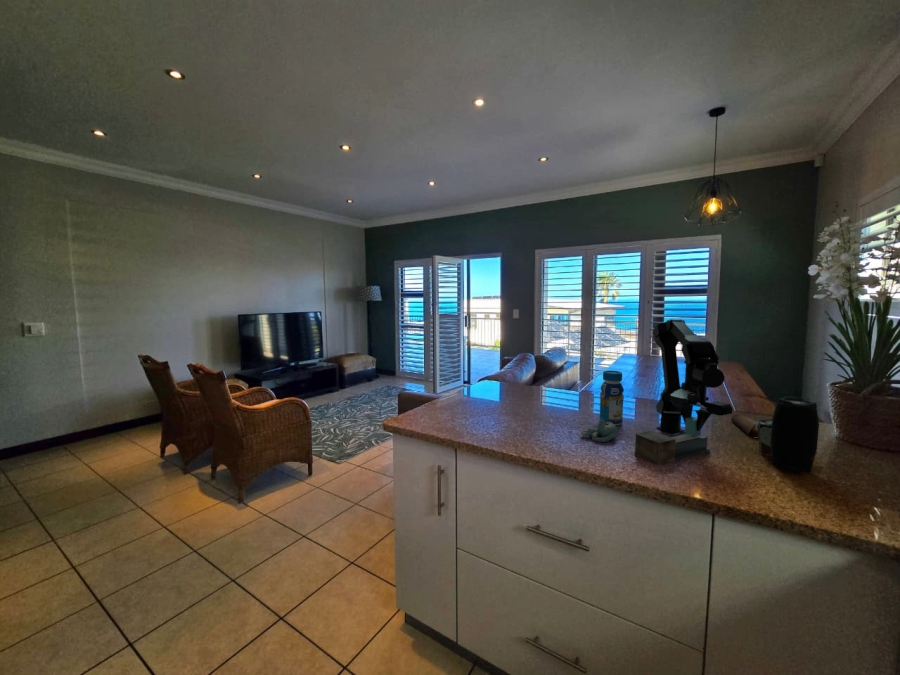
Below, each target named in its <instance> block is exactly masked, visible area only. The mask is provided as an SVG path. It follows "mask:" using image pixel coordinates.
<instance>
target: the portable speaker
mask: <svg viewBox="0 0 900 675" xmlns="http://www.w3.org/2000/svg"><path fill="white" fill-rule="evenodd" d="M817 404H818V403H817V402H814V401H809V400H806V399H803V397H802V398H801V397H796V396H784V397H782V398H777V400H776V404H775V408H774V412H773V415H772V430H771V454H772V455H771V462H772V464H773V465H777V466H778V467H779V468H780V469H781V470H782V471H783V472H787V473H790V474H796V475H801V474H802V473H805V472H807V473H811V471H812V468H813V465H814V463H815V462H814V461H815V458H816V455H817V449H818V441H819V429H820V428H819V427H820V422H819V416H818V415H819V414H818V408H817V407H818V405H817Z"/></svg>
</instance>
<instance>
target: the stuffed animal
mask: <svg viewBox="0 0 900 675" xmlns="http://www.w3.org/2000/svg"><path fill="white" fill-rule="evenodd" d="M618 433H619V430H618V426H615V425H614V424H613V423H612V422H610V421H609V422H606V421H604V420H602V419H600V418H599V420H598V426H597V427H589V428H588V429H587V430H581V431H580V434H581V435H582V437H584V438H585V437H588V436H589V437H591V439H592V441H595V442H597V441H598V443H608V442H609V441H610V440H613V439H615V438H616V437H617V436H618V435H619V434H618ZM599 436H600V437H599Z"/></svg>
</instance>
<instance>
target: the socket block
mask: <svg viewBox="0 0 900 675" xmlns="http://www.w3.org/2000/svg"><path fill="white" fill-rule="evenodd" d="M675 440H676V439H674V438H671V437H668V436H667V435H666V434H662V433H659V432H656V431H654V430H650V431H645V432H640V433H635V448H634V456H636V457H638V458H640V459H643V460H645V461H648V462H649V461H650V462H649V463H652V464H654V465H656V466H662V465H665V464H670V463H674V462H676V461H675Z"/></svg>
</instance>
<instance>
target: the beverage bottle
mask: <svg viewBox="0 0 900 675" xmlns="http://www.w3.org/2000/svg"><path fill="white" fill-rule="evenodd" d="M602 379H603V382H602V383H601V386H600V393H599V400H600V401H599V419H602V420H604V421H606V422H609V421H610V422H612V423H613V424H614V425H615V426H616V425H617V426H621V425H622V424H623V422H624V421H623V415H624V399H625V396H624V391H625V389H624V387H623V385H622V383H621V382H622V381H623V372H622V371H619V370H603V372H602ZM617 426H616V427H617Z"/></svg>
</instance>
